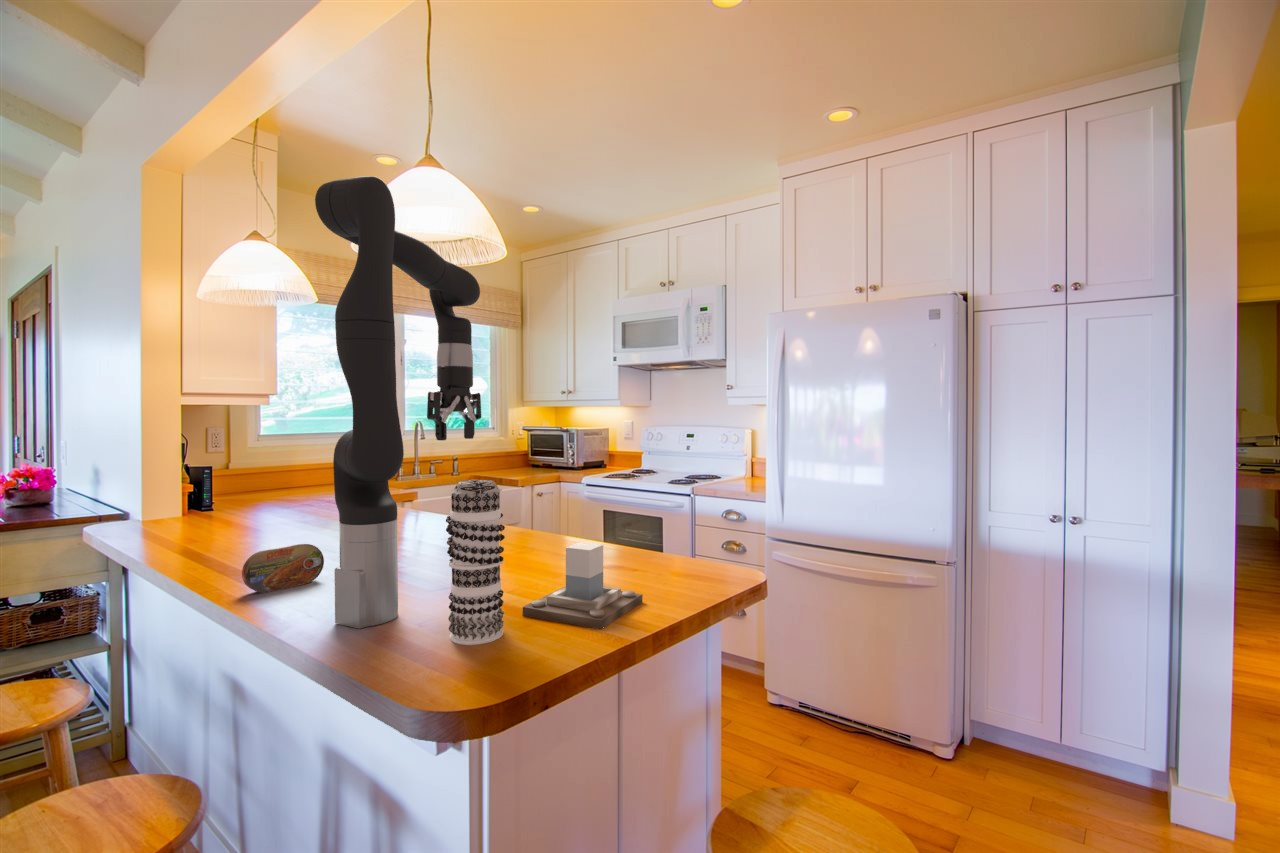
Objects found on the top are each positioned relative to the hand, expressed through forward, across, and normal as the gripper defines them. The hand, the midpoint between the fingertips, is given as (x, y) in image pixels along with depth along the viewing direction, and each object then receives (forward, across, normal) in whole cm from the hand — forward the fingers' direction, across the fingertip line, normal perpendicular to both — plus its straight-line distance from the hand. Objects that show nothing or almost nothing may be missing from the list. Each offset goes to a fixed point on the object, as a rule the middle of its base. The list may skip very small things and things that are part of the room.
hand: (455, 439), depth 133 cm
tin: (+30, +22, -26) cm, 46 cm away
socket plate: (+30, +7, +37) cm, 48 cm away
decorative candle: (+30, +26, +28) cm, 49 cm away
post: (+29, +7, +37) cm, 47 cm away
